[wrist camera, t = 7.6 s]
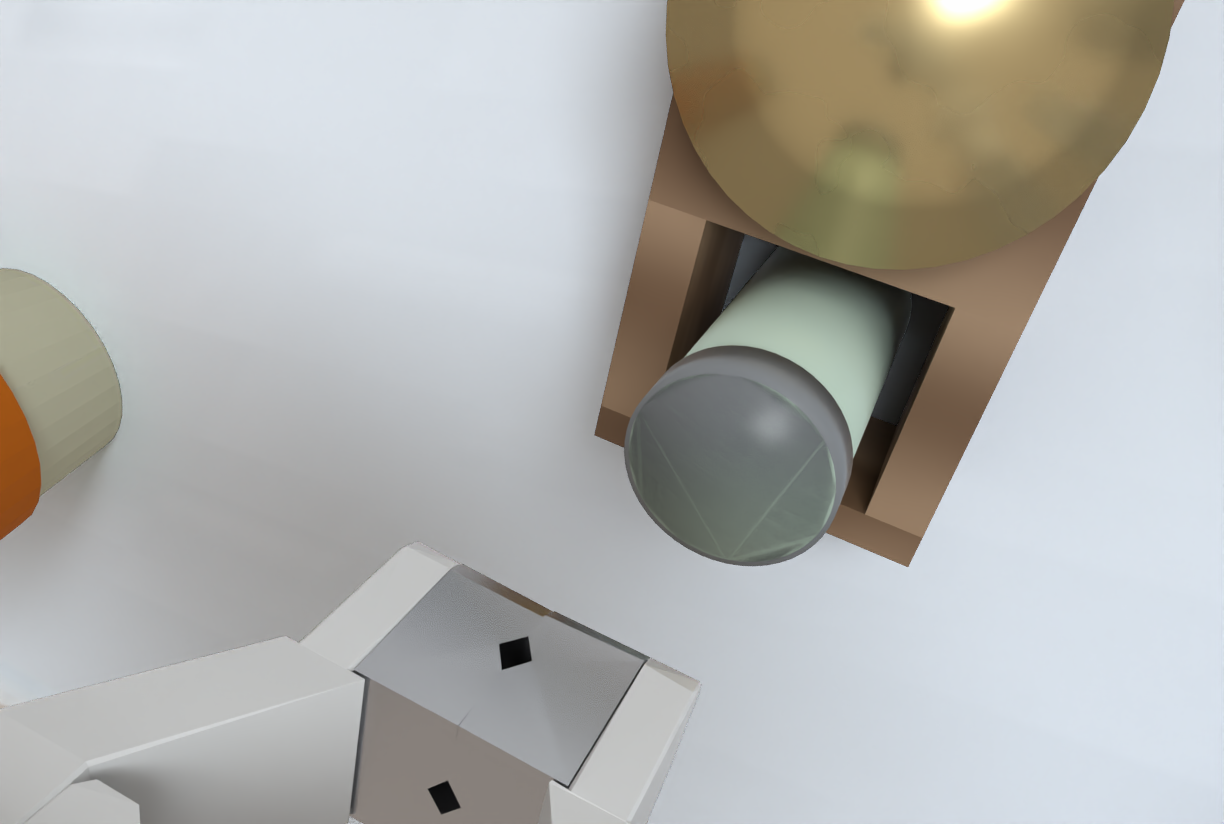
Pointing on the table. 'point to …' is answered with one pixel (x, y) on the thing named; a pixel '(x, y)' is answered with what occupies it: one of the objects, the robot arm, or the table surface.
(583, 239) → the table surface
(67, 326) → the reusable coffee cup
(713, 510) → the cartridge
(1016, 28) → the gold rounded dome
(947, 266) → the housing
